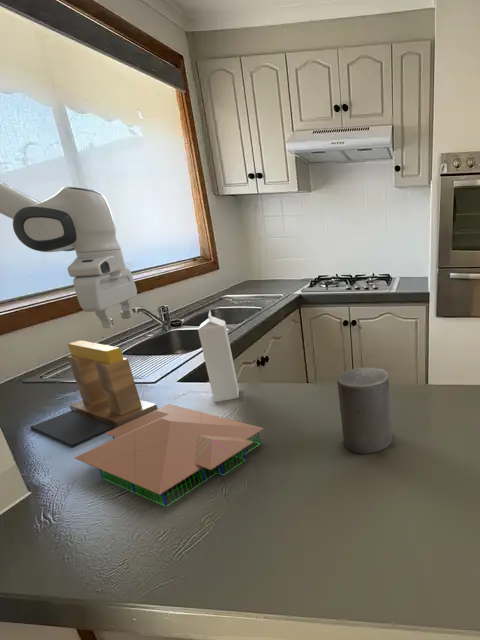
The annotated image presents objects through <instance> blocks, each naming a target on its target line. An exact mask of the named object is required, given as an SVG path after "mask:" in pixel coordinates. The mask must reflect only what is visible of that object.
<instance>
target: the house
mask: <svg viewBox="0 0 480 640" xmlns="http://www.w3.org/2000/svg"><path fill="white" fill-rule="evenodd" d="M263 430H265V428H264V427H261V426H256V425H253V424H249V423H245V422H241V421H236V420H234V419H229V418H225V417H221V416H217V415H213V414H209V413H206V412H202V411H198V410H194V409H190V408H186V407H182V406H178V405H174V404H170V403H168V404H166V405H163V406H162V407H159V408H158V409H157V410H155V411H153V412H150V413H148V414H146V415H144V416H141V417H139V418H137V419H135V420H133V421H130V422H128V423H126V424H124V425H122V426H119V427H115V429H113V430H111V431H108V432H106V433H104V435H105V434H106V435H108V436H111V437H112V439H111V440H108V441H107V442H104V443H102V444H100V445H98V446H96V447H94V448H92V449H90V450H87V451H86V452H85V451H84V452H83V453H81V454H79V455H77V456H74V459H75V460H77V461H80V462H82V463H85V464H87V465H89V466H92V467H94V468H96V469H98V470H99V472H100V475H101V478H102V479H103V480H105V481H107V482H109V483H111V484H114V485H116V486H119V487H121V488H123V489H125V490H128V491H129V492H132V493H134V494H137V495H138V496H141V497H143V498H145V499H148V500H150V501H152V502H154V503H156V504H159V505H161V506H163V507H165V508H167V507H168V506H170V505H171V504H173V503H174V502H176V501H177V500H179V499H180V498H182V497H183V496H185V495H186V494H188V493H189V492H191V491H192V490H194V489H195V488H197V487H198V486H199V485H201V484H203V483H205V482H206V481H208V480H209V479H211V477H213V476H215V475H217V474H218V475H220V476H225V475H226V474H228V473H229V472H231V471H232V470H234V469H235V468H237V467H238V466H239V465H242V463H244V462H245V461H247V457H246V454H248V453H249V452H251V451H252V450H254V449H256V447H258V446H260V445H261V444H262V443H261V438H260V432H262V431H263ZM254 437H255V438H254ZM252 444H253V445H254V447H252ZM249 446H250V448H251V449H249ZM246 448H247V451H246ZM243 456H244V457H243ZM233 457H234V458H233ZM230 458H231V460H230ZM237 458H238V459H239V463H238V460H237ZM234 460H235V463H236V465H235V464H234ZM241 460H242V461H241ZM226 461H227V462H226ZM230 462H232V466H233V468H231V464H230ZM223 463H224V464H223ZM227 465H228V466H229V470H228V468H227ZM224 466H225V471H226V472H225V473H224V468H223V467H224ZM217 468H218V469H217ZM214 470H215V471H214ZM206 471H208V474H209V477H207V472H206ZM211 471H212V472H213V474H211ZM198 473H199V474H198ZM190 476H192V478H191V479H190ZM187 478H188V481H187V482H186V479H187ZM196 478H197V480H198V483H199V484H196V480H195V479H196ZM192 480H193V483H194V487H193V486H192V482H191V481H192ZM200 480H201V481H200ZM182 481H184V484H182ZM188 483H189V484H190V485H189V486H190V488H191V489H188V485H187V484H188ZM178 484H180V486H179V487H178V486H177V485H178ZM183 486H185V487H186V491H187V492H185V493H184V488H183ZM173 487H175V488H176V489H173ZM180 488H181V490H182V491H181V492H182V495H180V492H179V489H180ZM170 489H171V492H170V493H169V490H170ZM175 491H177V495H178V497H177V498H176V496H175V493H174V492H175ZM164 493H167V494H166V495H164ZM171 494H173V499H174V500H172V501H171V497H170V495H171ZM166 497H168V498H169V502H170V503H169V504H167V501H166Z"/></svg>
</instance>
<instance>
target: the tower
mask: <svg viewBox="0 0 480 640" xmlns="http://www.w3.org/2000/svg"><path fill="white" fill-rule="evenodd" d="M67 359H68V363H69V365H70V368H71V371H72V374H73V377H74V380H75V382H76V385H77V389H78V391H79V394H80V397H81V400H79V401H77V402H74V403H72V404H69V405H68V406H69V409H70V411H74V412H77V413H79V414H82V415H85V416H88V417H90V418H93V419H96V420H99V421H101V422H104V423H107V424H110V425H112V426H115V428H117V427H119V426H122V425H124V424H126V423H128V422H130V421H133V420H135V419H137V418H139V417H141V416H144V415H146V414H148V413H150V412H153V411H155V410H157V409H159V408H158V404H156V403H153V402H150V401H146V400H143V399H141V398H140V396H139V395H140V394H139V392H138V389H137V385H136V382H135V379H134V376H133V375H134V374H133V371H132V368H131V365H130V361H129V358H127V357H123V360H121V361H118V362H115V363H112V364H108V363H104V362H100V361H95V360H91V359H86V358H82V357H77V356H73V355H71V354H70V355H68V356H67Z"/></svg>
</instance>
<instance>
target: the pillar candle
mask: <svg viewBox="0 0 480 640" xmlns="http://www.w3.org/2000/svg"><path fill="white" fill-rule="evenodd" d="M389 376H390V375H389V373H388V372H387V371H386V370H385V369H383V368H376V367H358V368H352V369H349V370H346V371H343V372H341V373H340V374H339V375H338V376H337V379H336V381H337V391H338V401H339V412H340V419H341V431H342V438H343V441H342V444H343V445H344V448H345V449H347V450H348V451H350V452H352V453H355V454H363V455H365V454H374V453H377V452H382V451H383V450H385V449H388V447H389V446H390V445H391V443H392V440H393V432H392V431H393V428H392V412H391V411H392V410H391V398H390V397H391V395H390V378H389Z"/></svg>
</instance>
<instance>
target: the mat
mask: <svg viewBox="0 0 480 640" xmlns="http://www.w3.org/2000/svg"><path fill="white" fill-rule="evenodd" d="M29 427H30V429H31V430H33V431H35V432H38V433H39V434H42V435H44V436H46V437H49V438H51V439H53V440H56V441H57V442H60V443H62V444H64V445H66V446H69V447H71V448H74V447H76V446H79V445H82V444H83V443H86V442H89V441H90V440H93V439H95V438H97V437H99V436H102V435H103V434H104V435H105V433H106V432H108V431H111V430H113V429H115V428H116V427H115V426H112V425H110V424H107V423H104V422H101V421H99V420H96V419H93V418H90V417H88V416H85V415H82V414H79V413H77V412H74V411H71V410H70V411H67V412H65V413H62V414H60V415H56V416H54V417H51V418H49V419H47V420H44V421H41V422H38V423H36V424H33V425H30V426H29Z"/></svg>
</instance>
